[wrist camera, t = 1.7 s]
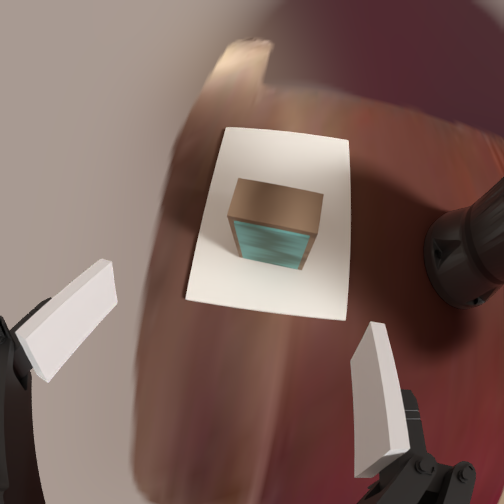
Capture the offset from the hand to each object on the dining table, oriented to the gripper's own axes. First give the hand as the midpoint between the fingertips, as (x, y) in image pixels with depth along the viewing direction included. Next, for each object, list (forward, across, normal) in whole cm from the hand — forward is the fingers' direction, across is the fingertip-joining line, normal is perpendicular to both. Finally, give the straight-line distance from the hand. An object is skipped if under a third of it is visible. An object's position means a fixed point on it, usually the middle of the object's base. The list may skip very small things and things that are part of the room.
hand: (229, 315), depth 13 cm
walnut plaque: (+22, 0, -7) cm, 24 cm away
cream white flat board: (+27, 0, -3) cm, 27 cm away
